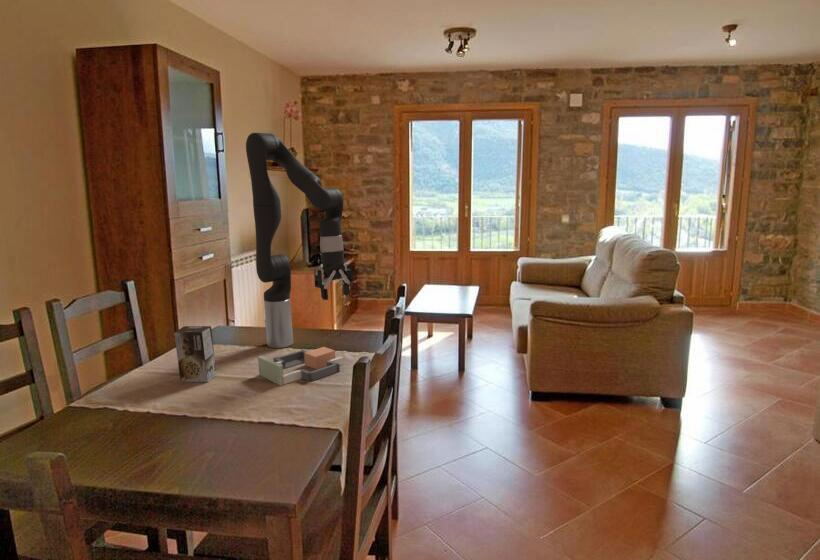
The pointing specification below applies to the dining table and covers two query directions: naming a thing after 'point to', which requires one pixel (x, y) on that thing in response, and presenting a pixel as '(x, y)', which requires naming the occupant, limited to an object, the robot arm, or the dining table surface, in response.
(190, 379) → the coffee box
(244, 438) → the dining table surface
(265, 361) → the box
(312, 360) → the terracotta block
